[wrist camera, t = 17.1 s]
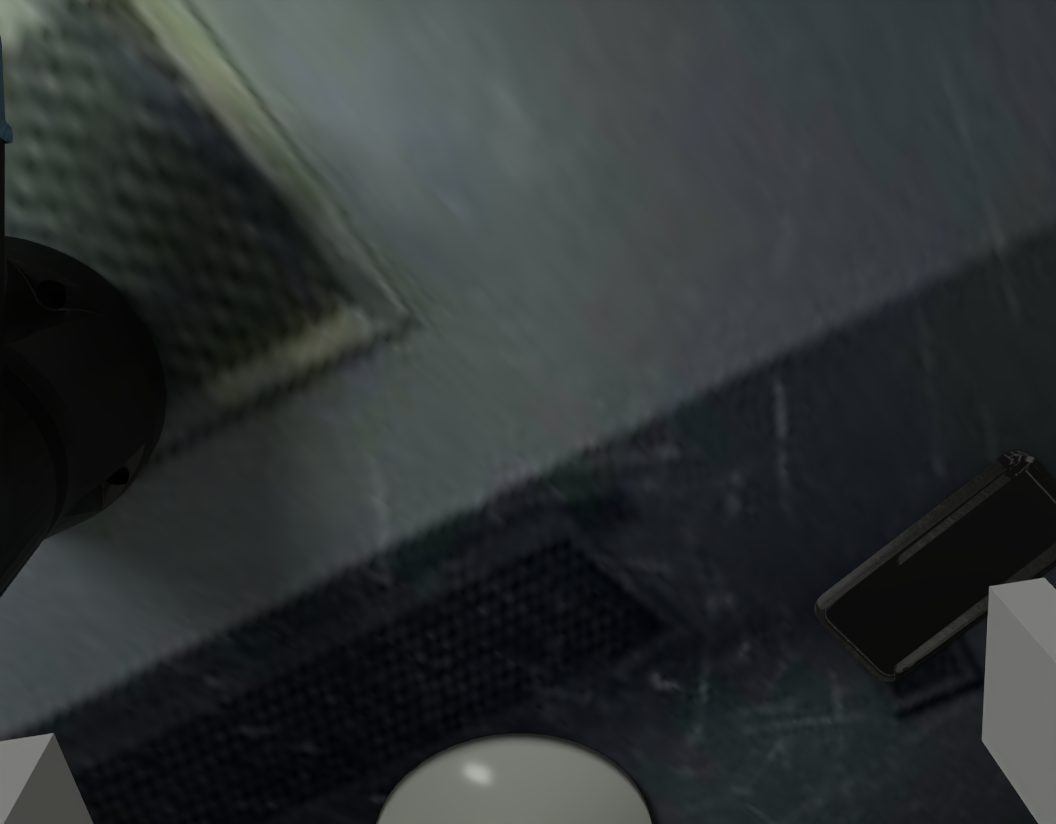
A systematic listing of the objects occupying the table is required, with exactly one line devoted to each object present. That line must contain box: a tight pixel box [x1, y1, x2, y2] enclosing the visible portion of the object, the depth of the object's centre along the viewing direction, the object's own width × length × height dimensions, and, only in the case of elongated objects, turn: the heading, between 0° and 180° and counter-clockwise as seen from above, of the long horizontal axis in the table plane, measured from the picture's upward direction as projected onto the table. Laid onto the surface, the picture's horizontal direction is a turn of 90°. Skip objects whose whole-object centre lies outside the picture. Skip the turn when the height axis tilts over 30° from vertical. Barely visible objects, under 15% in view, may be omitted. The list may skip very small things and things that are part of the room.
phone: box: [814, 450, 1056, 682], centre depth 57 cm, size 8×1×15 cm
